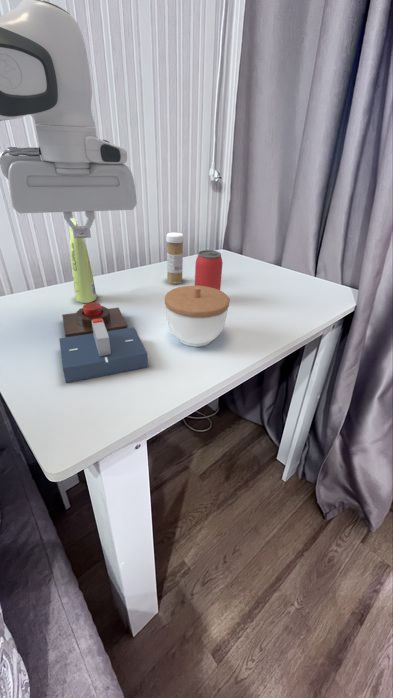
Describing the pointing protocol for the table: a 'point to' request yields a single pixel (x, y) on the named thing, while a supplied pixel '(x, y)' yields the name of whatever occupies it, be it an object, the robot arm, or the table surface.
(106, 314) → the button block
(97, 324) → the grey rectangular block
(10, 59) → the robot arm
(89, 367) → the panel
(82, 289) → the tube
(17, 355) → the table surface
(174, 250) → the sprinkles bottle
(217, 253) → the beer can
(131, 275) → the table surface
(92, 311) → the button
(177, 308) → the lidded bowl
